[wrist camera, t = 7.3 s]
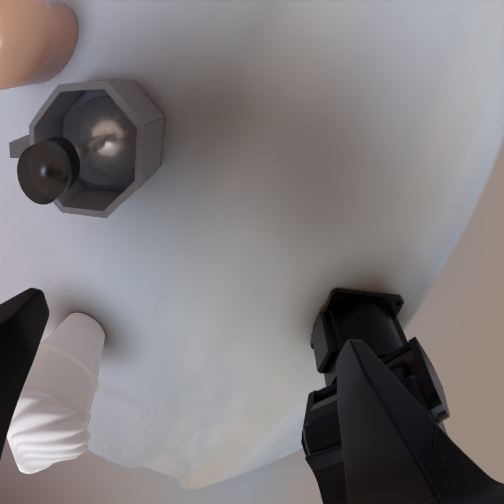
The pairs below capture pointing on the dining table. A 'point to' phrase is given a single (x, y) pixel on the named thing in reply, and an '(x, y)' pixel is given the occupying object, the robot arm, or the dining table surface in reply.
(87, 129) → the plunger
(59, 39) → the peach rounded capsule
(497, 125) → the dining table surface
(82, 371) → the soft serve ice cream cone
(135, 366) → the dining table surface
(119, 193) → the gray octagonal container
